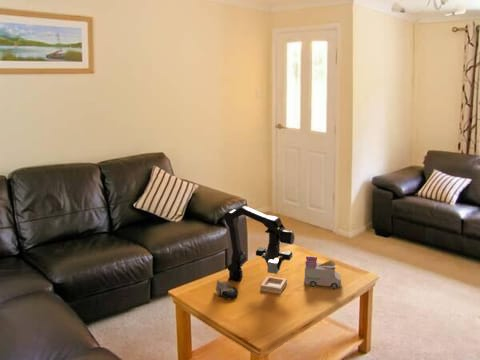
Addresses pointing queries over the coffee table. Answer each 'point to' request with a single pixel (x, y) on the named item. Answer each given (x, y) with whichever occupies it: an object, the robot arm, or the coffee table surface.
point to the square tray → (273, 284)
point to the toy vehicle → (321, 273)
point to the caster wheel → (226, 290)
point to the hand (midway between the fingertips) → (273, 268)
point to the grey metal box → (273, 266)
